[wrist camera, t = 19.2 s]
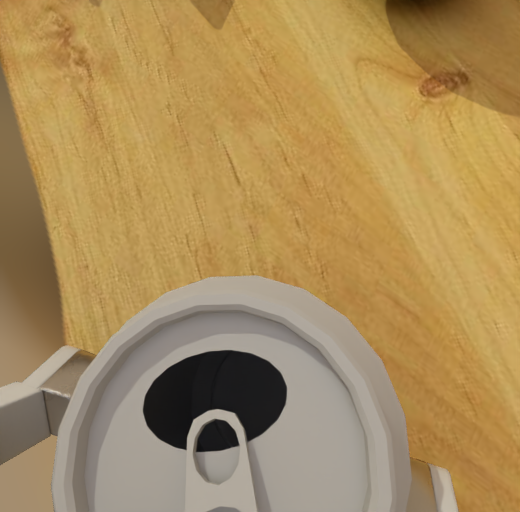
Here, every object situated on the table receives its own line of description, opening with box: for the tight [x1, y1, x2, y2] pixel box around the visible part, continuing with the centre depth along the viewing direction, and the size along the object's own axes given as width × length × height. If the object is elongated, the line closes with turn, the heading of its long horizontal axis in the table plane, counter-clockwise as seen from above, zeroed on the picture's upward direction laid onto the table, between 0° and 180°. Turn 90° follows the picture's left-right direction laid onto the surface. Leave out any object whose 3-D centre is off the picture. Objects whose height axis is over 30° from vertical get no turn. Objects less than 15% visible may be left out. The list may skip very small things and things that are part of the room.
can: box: [51, 276, 412, 512], centre depth 12 cm, size 8×8×12 cm
